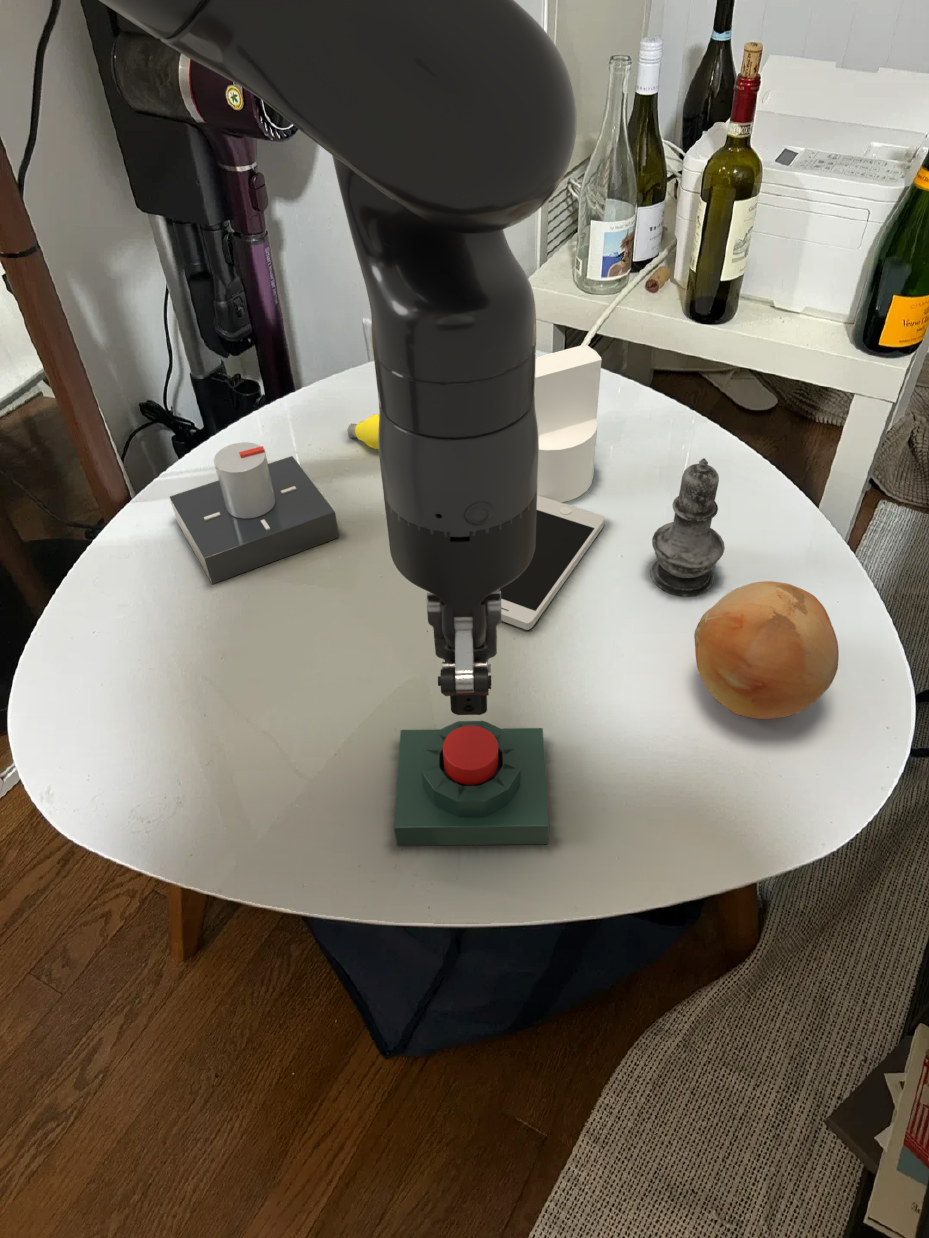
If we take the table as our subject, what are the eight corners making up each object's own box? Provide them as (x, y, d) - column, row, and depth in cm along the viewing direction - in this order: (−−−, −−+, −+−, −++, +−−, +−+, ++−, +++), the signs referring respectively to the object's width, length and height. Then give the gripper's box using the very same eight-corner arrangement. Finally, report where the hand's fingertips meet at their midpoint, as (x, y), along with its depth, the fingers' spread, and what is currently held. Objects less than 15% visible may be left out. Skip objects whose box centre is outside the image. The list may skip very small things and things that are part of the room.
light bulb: (393, 458, 92) (375, 432, 89) (349, 454, 95) (331, 430, 93) (408, 432, 93) (392, 407, 90) (365, 430, 97) (348, 405, 94)
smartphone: (605, 523, 84) (606, 515, 83) (529, 631, 74) (529, 623, 73) (534, 501, 86) (535, 493, 85) (452, 603, 77) (452, 595, 76)
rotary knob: (232, 524, 80) (219, 474, 77) (221, 496, 83) (207, 447, 79) (281, 510, 81) (271, 460, 78) (268, 483, 84) (257, 434, 81)
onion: (687, 638, 73) (707, 542, 66) (817, 656, 72) (852, 559, 65) (680, 733, 67) (702, 638, 60) (823, 755, 65) (863, 660, 58)
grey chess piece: (643, 593, 77) (661, 476, 69) (650, 548, 81) (668, 432, 73) (715, 603, 76) (742, 486, 68) (719, 557, 80) (745, 441, 72)
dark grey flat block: (212, 584, 79) (203, 557, 77) (177, 522, 86) (168, 494, 83) (339, 537, 83) (335, 510, 81) (297, 481, 90) (292, 454, 87)
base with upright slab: (564, 439, 93) (571, 329, 85) (610, 487, 87) (622, 374, 79) (484, 463, 91) (482, 352, 82) (526, 514, 85) (528, 400, 76)
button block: (396, 846, 61) (391, 812, 58) (402, 748, 66) (398, 713, 64) (548, 844, 61) (550, 810, 58) (541, 746, 66) (543, 711, 63)
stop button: (443, 785, 60) (442, 770, 58) (444, 741, 62) (443, 725, 61) (498, 785, 60) (498, 769, 58) (497, 740, 62) (497, 724, 61)
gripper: (390, 404, 49) (413, 630, 62) (372, 571, 40) (403, 797, 52) (531, 401, 49) (525, 628, 61) (545, 567, 40) (535, 795, 52)
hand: (469, 705), depth 57 cm, fingers closed
